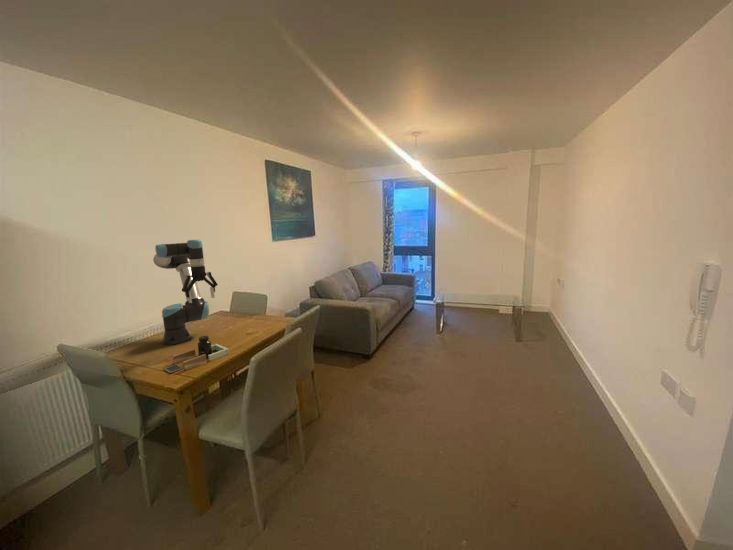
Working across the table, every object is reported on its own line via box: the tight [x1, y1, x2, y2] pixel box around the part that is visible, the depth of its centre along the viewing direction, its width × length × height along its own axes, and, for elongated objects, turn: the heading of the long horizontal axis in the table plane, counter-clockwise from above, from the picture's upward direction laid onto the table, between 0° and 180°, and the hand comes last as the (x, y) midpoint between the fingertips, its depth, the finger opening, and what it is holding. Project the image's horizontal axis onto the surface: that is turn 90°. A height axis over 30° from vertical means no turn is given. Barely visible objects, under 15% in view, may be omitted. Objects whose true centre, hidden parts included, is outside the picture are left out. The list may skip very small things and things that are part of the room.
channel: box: [172, 348, 208, 371], centre depth 166 cm, size 14×11×4 cm
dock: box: [197, 343, 230, 362], centre depth 176 cm, size 14×11×3 cm
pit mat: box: [163, 364, 184, 375], centre depth 160 cm, size 8×6×1 cm
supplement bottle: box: [197, 335, 213, 360], centre depth 172 cm, size 7×7×12 cm
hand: (202, 300), depth 186 cm, fingers open, 13 cm apart
